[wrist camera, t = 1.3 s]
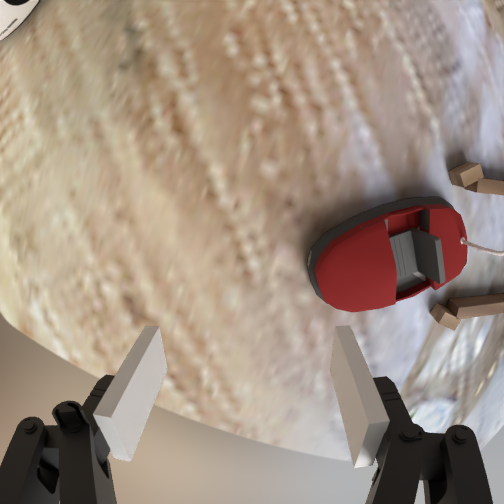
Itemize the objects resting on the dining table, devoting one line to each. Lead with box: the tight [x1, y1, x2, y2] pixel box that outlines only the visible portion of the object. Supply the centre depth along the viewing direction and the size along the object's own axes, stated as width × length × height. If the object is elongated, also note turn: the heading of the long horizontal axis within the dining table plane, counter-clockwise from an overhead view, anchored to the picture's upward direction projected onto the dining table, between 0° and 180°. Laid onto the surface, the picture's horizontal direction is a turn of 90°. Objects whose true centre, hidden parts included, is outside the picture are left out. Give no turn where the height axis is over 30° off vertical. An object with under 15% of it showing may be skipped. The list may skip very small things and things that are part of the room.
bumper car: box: [307, 197, 504, 312], centre depth 27 cm, size 10×20×10 cm, turn 110°
